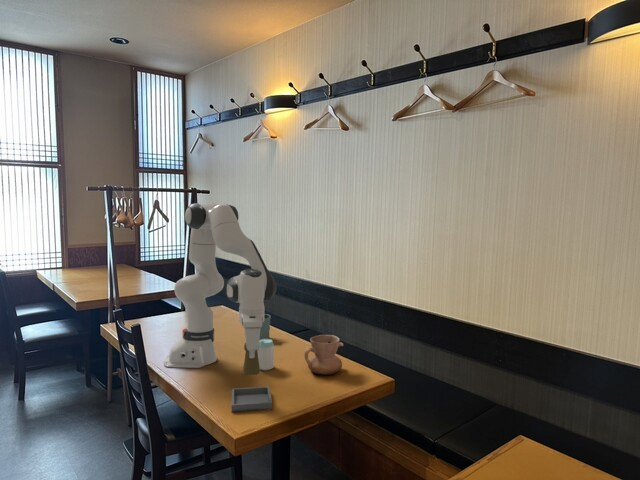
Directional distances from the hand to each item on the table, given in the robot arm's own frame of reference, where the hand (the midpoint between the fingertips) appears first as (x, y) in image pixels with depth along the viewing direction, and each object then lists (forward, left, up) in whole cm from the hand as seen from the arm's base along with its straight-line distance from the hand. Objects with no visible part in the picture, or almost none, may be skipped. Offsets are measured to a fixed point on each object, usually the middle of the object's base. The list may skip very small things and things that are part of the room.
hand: (251, 354), depth 157 cm
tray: (0, 0, -17) cm, 17 cm away
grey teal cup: (+7, +73, -18) cm, 75 cm away
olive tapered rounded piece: (0, 0, -6) cm, 7 cm away
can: (+7, +32, -18) cm, 37 cm away
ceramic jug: (+31, +25, -18) cm, 43 cm away
